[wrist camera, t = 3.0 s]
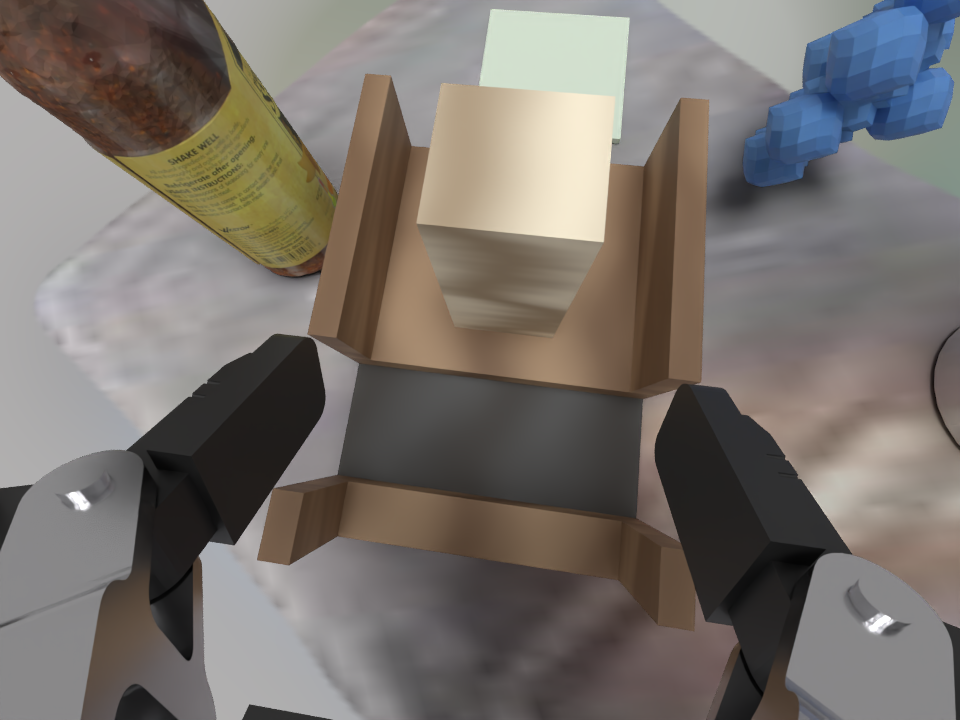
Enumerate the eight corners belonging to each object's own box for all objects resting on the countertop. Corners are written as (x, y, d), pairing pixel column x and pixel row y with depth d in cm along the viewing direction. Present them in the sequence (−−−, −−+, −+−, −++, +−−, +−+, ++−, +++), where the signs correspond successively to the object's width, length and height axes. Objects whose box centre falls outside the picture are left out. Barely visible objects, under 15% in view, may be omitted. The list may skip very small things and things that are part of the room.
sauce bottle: (370, 206, 24) (-126, -705, 5) (324, 297, 23) (-530, -412, 4) (276, 172, 25) (-470, -734, 6) (228, 259, 24) (-886, -494, 5)
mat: (627, 24, 26) (629, 18, 26) (618, 143, 25) (620, 138, 24) (491, 15, 27) (490, 9, 27) (472, 131, 25) (472, 126, 25)
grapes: (769, 276, 23) (1065, 97, 11) (671, 204, 24) (844, -31, 12) (887, 140, 24) (1264, -150, 12) (789, 78, 25) (1049, -244, 13)
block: (560, 255, 21) (615, 96, 11) (552, 338, 20) (603, 242, 10) (466, 246, 21) (441, 82, 12) (454, 326, 21) (416, 223, 11)
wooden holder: (652, 190, 24) (709, 99, 17) (631, 570, 20) (694, 631, 13) (399, 167, 25) (365, 73, 19) (330, 523, 21) (257, 560, 15)
